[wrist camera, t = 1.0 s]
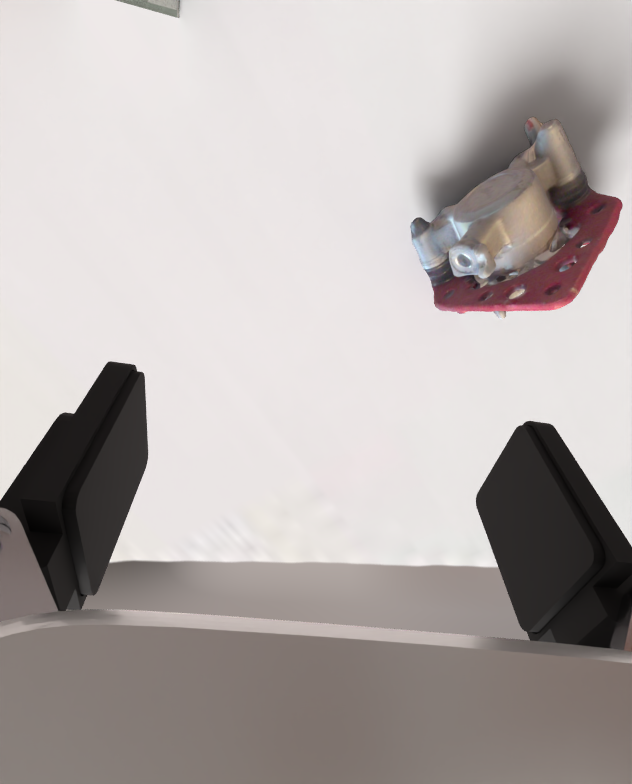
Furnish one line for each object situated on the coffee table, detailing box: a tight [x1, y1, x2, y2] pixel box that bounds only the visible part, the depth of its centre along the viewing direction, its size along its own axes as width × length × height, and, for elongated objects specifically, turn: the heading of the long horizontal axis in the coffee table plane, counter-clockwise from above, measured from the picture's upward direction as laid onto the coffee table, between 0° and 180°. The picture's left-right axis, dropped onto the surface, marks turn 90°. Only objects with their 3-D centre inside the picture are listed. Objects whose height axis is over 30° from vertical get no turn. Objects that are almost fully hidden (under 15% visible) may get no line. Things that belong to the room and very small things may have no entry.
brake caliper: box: [410, 117, 622, 319], centre depth 28 cm, size 11×11×12 cm
